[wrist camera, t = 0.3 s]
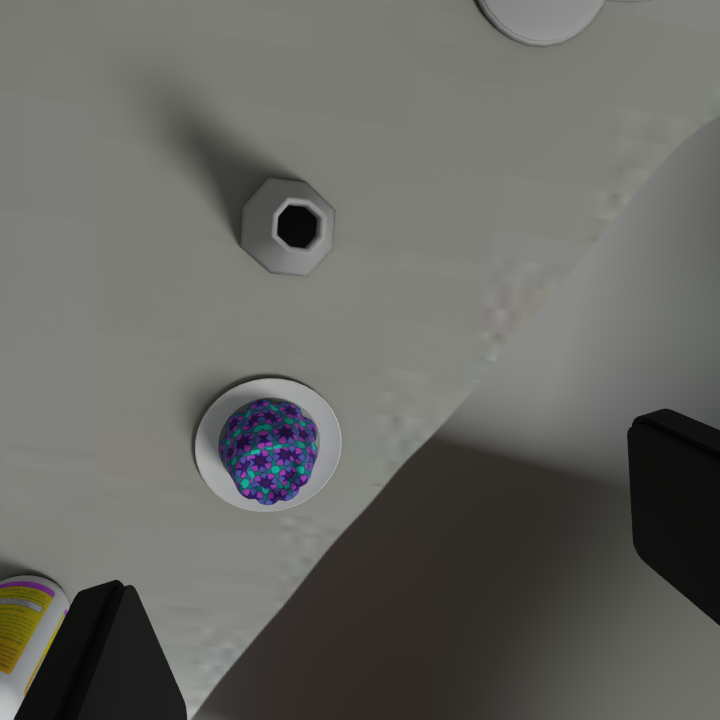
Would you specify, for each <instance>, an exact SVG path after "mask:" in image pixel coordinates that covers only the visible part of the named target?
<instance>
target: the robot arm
mask: <svg viewBox="0 0 720 720" xmlns="http://www.w3.org/2000/svg"><path fill="white" fill-rule="evenodd" d="M627 439H628V457H629V475H630V494H631V513H632V530H633V543H634V547H635V549H636V551H637V553H638V555H639V556H640V557H641V559H642V560H643V561H644V562H645V563H646V564H647V565H649V566H650V567H651V568H652V569H653V570H654V571H656V572H657V573H658V574H659V575H660V576H662V577H663V578H664V579H665V580H666V581H668V582H669V583H670V584H671V585H672V586H673V587H675V588H676V589H677V590H678V591H679V592H680V593H682V594H683V595H684V596H685V597H686V598H688V599H689V600H690V601H691V602H692V603H693V604H695V605H696V606H697V607H698V608H699V609H701V610H702V611H703V612H704V613H705V614H706V615H708V616H709V617H710V618H711V619H713V620H714V621H715V622H716V623H717V624H718V625H720V430H718V429H715V428H713V427H711V426H708V425H706V424H704V423H701V422H699V421H696V420H694V419H692V418H689V417H687V416H685V415H682V414H680V413H678V412H675V411H673V410H670V409H661V410H658V411H654V412H651V413H648V414H645V415H642V416H639V417H637V418H635V419H634V421H633V423H632V427H631V428H629V430H628V434H627ZM13 720H187V712H186V706H185V702H184V699H183V697H182V694H181V692H180V690H179V687H178V685H177V683H176V681H175V678H174V676H173V674H172V671H171V669H170V667H169V664H168V662H167V660H166V658H165V655H164V653H163V651H162V648H161V646H160V644H159V641H158V639H157V637H156V635H155V632H154V630H153V628H152V625H151V623H150V621H149V618H148V616H147V614H146V612H145V609H144V607H143V605H142V602H141V600H140V598H139V595H138V593H137V591H136V589H135V588H134V587H133V586H132V585H128V586H125V587H124V585H123V584H122V583H121V582H120V581H119V580H114V581H110V582H107V583H104V584H101V585H98V586H94V587H91V588H88V589H85V590H82V591H80V592H78V594H77V595H76V596H75V598H74V600H73V602H72V604H71V606H70V608H69V610H68V612H67V614H66V616H65V618H64V620H63V622H62V624H61V626H60V628H59V630H58V632H57V634H56V636H55V638H54V640H53V642H52V644H51V646H50V648H49V650H48V652H47V654H46V656H45V658H44V660H43V662H42V664H41V666H40V668H39V670H38V672H37V674H36V676H35V678H34V680H33V682H32V684H31V686H30V687H29V689H28V691H27V693H26V695H25V697H24V699H23V701H22V703H21V705H20V707H19V709H18V711H17V713H16V715H15V717H14V719H13Z"/></svg>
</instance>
